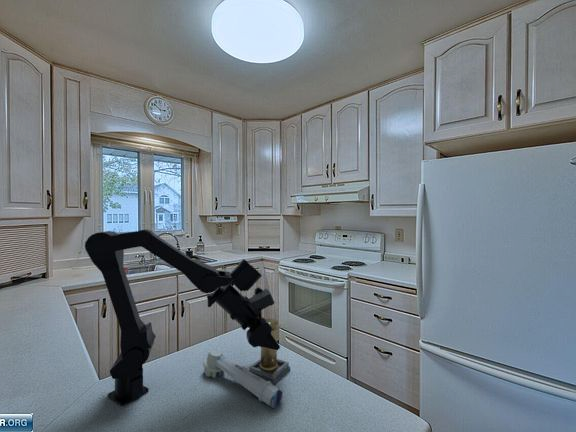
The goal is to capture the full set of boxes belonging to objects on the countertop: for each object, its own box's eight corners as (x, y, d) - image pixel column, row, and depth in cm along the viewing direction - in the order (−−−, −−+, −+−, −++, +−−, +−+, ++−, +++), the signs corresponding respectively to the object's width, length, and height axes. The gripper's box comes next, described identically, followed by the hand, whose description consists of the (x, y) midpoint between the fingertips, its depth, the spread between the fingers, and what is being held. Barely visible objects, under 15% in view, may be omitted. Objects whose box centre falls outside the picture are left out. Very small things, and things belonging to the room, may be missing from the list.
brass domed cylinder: (256, 368, 76) (256, 321, 76) (269, 362, 79) (270, 317, 79) (267, 376, 73) (267, 326, 73) (280, 369, 76) (281, 322, 76)
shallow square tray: (247, 375, 75) (247, 367, 75) (265, 361, 82) (265, 354, 82) (273, 385, 70) (273, 376, 70) (289, 370, 77) (290, 362, 77)
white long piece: (271, 396, 60) (201, 347, 75) (267, 425, 61) (198, 370, 75) (285, 385, 65) (216, 340, 79) (282, 411, 65) (214, 362, 80)
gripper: (263, 290, 66) (306, 331, 69) (250, 274, 84) (285, 307, 87) (229, 326, 64) (275, 367, 67) (223, 302, 81) (259, 335, 85)
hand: (274, 340), depth 76 cm, fingers open, 9 cm apart
